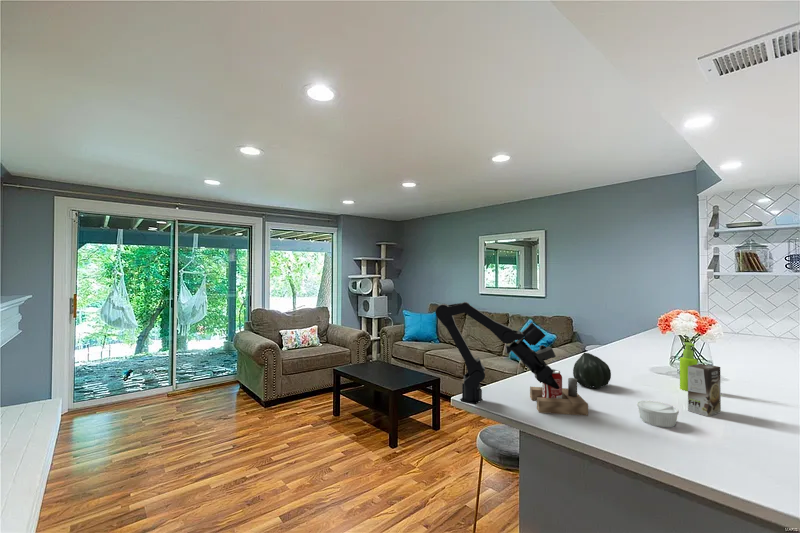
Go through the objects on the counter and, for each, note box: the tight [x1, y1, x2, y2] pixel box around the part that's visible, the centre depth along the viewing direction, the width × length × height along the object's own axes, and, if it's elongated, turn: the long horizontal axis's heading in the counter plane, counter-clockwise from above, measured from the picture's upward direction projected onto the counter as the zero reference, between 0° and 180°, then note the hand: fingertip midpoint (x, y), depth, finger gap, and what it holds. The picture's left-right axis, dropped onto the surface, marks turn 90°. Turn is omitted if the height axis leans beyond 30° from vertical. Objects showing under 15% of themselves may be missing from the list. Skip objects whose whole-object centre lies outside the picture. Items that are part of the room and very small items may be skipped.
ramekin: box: [636, 400, 680, 428], centre depth 123 cm, size 11×11×5 cm
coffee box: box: [687, 363, 722, 417], centre depth 133 cm, size 9×6×16 cm
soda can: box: [541, 368, 563, 399], centre depth 138 cm, size 7×7×12 cm
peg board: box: [529, 377, 589, 417], centre depth 138 cm, size 16×17×10 cm
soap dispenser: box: [679, 341, 698, 392], centre depth 158 cm, size 6×7×20 cm
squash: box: [572, 352, 612, 389], centre depth 163 cm, size 14×15×15 cm
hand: (556, 385), depth 138 cm, fingers closed on soda can, 6 cm apart
